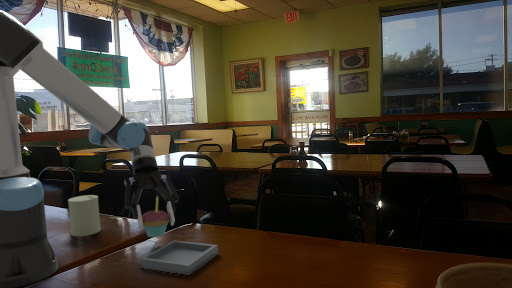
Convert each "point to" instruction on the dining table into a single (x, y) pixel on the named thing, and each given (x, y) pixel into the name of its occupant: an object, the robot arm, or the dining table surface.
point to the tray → (180, 257)
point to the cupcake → (155, 222)
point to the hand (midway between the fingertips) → (157, 225)
